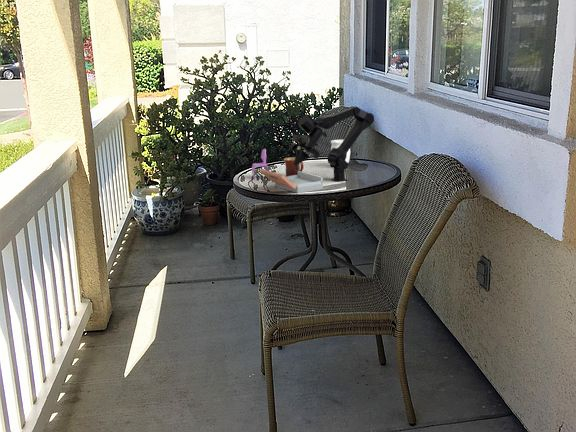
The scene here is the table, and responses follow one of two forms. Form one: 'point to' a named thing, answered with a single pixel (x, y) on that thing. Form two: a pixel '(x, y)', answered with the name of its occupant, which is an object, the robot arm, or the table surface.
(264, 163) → the toy chair
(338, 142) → the jar
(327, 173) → the table surface
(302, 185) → the bed
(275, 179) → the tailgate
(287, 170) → the mug
